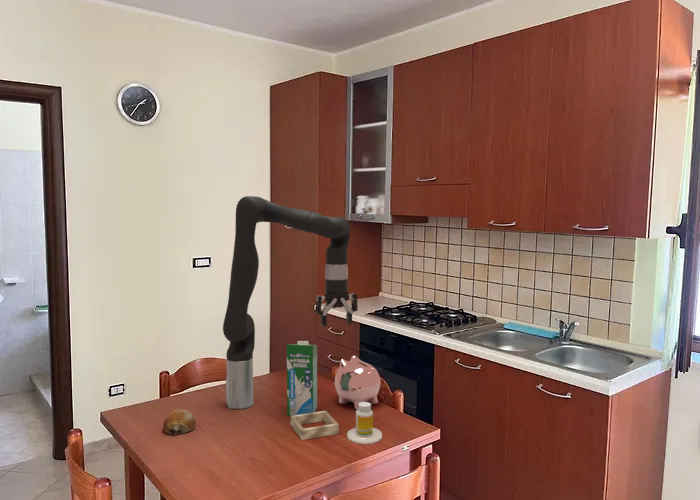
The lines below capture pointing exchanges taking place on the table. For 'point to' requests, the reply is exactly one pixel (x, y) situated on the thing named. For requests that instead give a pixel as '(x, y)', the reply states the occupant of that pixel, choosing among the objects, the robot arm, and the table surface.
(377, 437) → the coaster
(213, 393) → the table surface
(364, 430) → the supplement bottle
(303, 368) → the milk carton
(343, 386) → the piggy bank
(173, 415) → the bread roll
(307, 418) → the frame
